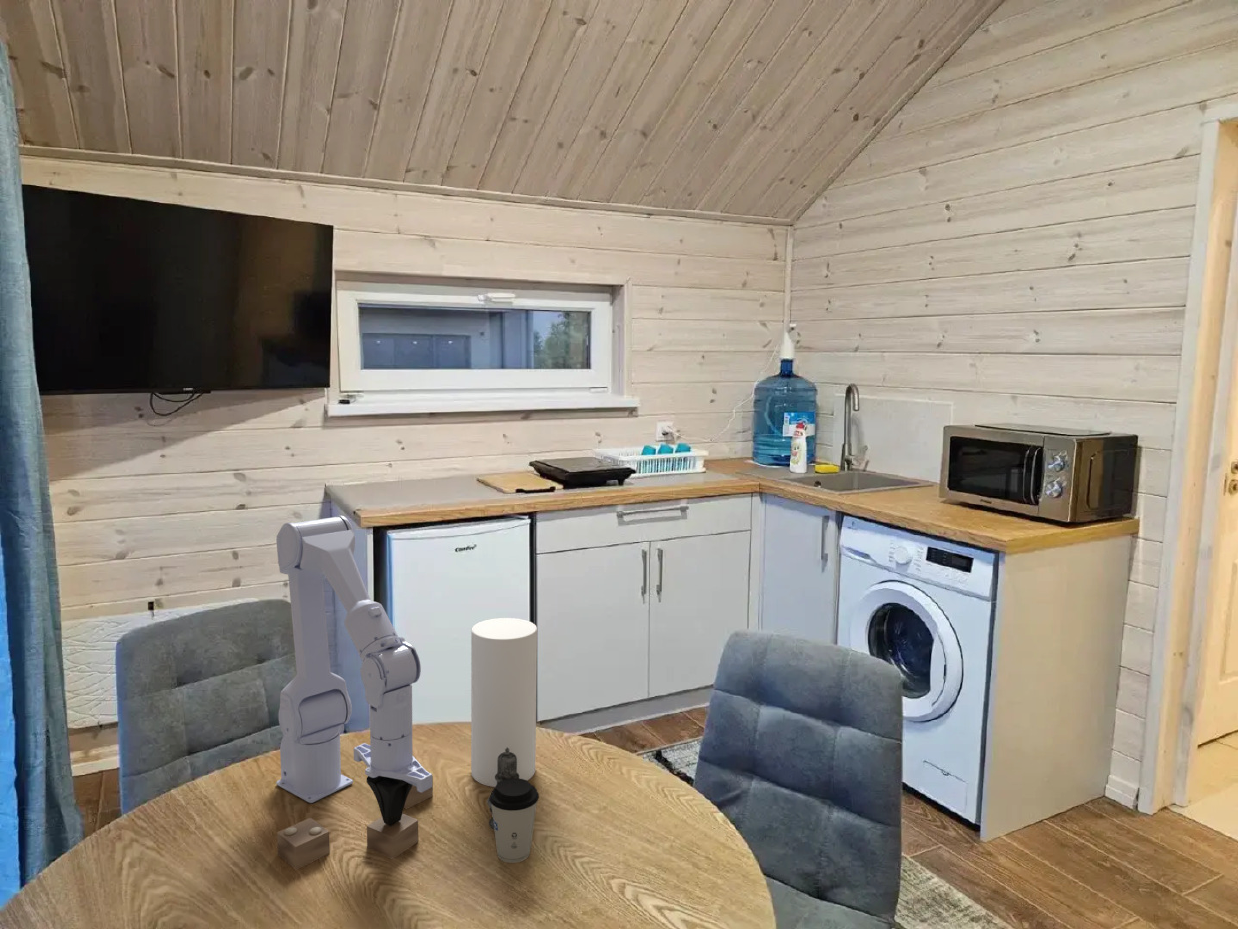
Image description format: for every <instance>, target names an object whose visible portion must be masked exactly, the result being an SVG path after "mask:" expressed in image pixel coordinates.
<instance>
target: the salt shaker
mask: <svg viewBox="0 0 1238 929" xmlns="http://www.w3.org/2000/svg"><path fill="white" fill-rule="evenodd" d="M505 751H506V752H503V753H501V754H500V755H499V756H498V760H497V774H496V775H495V780H496V781H497V783H498V782H500V781H501V780H505V779H513V778H519V774H518V773H517V757H516V755H515V754H514V753H512V752H509V748H508V747H507V748H506V749H505ZM486 805H487V807H488V808H489V811H490V814H491V816H492V817H491V818H489V820H488V826H489V828H490V829H491V830H493V831H494V822H493V814H492V806H491V802H490V801H489V797H488V798H487V800H486Z"/></svg>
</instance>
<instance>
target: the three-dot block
mask: <svg viewBox="0 0 1238 929" xmlns="http://www.w3.org/2000/svg"><path fill="white" fill-rule="evenodd" d="M433 776H434V775H432V787H431V788H429V789H428V790H426V791H424V792H422V793H421V792H419V791H417V787H416V786H414V785H413V786H412V788H411V790H410V792H409V794H408V796H407V799H406V802H405V805H404V808H405V809H406V810H407V809H409V808H411V807H413V806H415V805H417V804H419V803H421V802H424V801H425V800H428V799H430V798H432V797H433V796H434V792H433V791H434V790H433V789H434V788H433V786H434V777H433Z"/></svg>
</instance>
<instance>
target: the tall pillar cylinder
mask: <svg viewBox="0 0 1238 929" xmlns="http://www.w3.org/2000/svg"><path fill="white" fill-rule="evenodd" d="M470 641H471V642H470V644H471V654H470V655H471V659H470V660H471V664H470V665H471V667H470V668H471V669H470V670H471V676H470V677H471V679H470V680H471V681H470V682H471V683H470V684H471V686H470V687H471V688H470V689H471V690H470V691H471V695H470V696H471V704H470V706H471V708H470V709H471V711H470V712H471V714H470V717H471V722H470V725H471V726H470V727H471V730H470V731H471V733H470V734H471V735H470V736H471V737H470V738H471V739H470V740H471V741H470V743H471V744H470V745H471V746H470V751H471V752H470V753H471V754H470V755H471V756H470V757H471V758H470V759H471V760H470V762H471V763H470V764H471V767H470V770H471V772H470V773H471V777H472V778H473V779H474V780H475V781H476V782H477V783H479V784H480V785H481V784H482V785H483V786H486V787H487V786H488V787H494V788H495V787H496V785H497V781H496V780H495V775H496V774H497V760H498V756H499V755H500V754H501V753H503V752H506V751H505V749H506V748H507V747H508V748H509V752H512V753H514V754H515V755H516V757H517V773H518V774H519V779H524V780H527V781H529V780H530V779H532V777H534V774H535V773H536V755H537V754H536V750H537V746H536V745H537V744H536V741H537V740H536V739H537V737H536V736H537V673H538V672H537V668H538V667H537V666H538V663H537V662H538V661H537V659H538V654H537V652H538V627H537V625H536V624H535V623H534V622H532V621H529V620H526V619H522V618H513V617H500V618H499V617H497V618H490V619H486V620H482V621H480V622H477V623H476V624H474V625H473V626H472V628H471V640H470Z"/></svg>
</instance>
